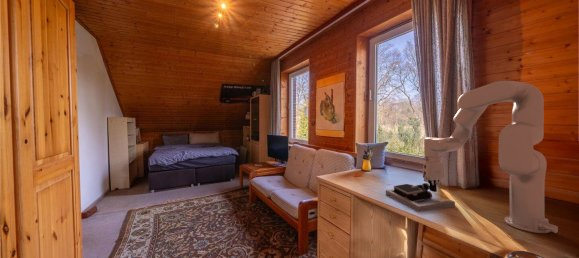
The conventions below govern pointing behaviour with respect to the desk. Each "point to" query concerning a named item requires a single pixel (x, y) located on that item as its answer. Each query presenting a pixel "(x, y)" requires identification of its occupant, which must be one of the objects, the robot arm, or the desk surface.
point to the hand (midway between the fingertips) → (433, 191)
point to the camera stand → (421, 206)
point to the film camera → (414, 191)
